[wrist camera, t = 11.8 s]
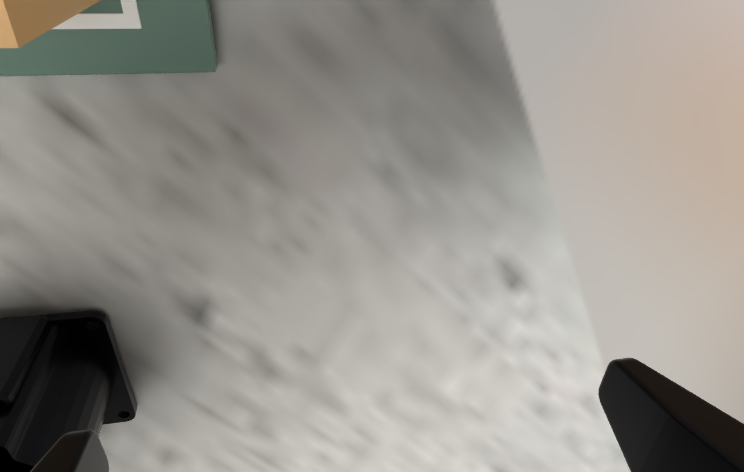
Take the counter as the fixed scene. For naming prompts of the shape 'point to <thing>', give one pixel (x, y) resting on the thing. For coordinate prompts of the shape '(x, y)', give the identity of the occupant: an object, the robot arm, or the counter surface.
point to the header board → (121, 41)
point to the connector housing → (34, 18)
